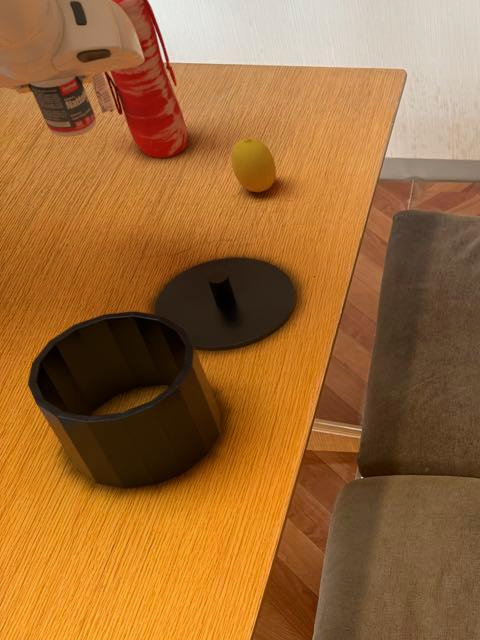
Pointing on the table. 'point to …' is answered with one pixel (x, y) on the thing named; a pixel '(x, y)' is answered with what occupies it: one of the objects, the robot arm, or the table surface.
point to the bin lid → (228, 302)
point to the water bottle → (146, 90)
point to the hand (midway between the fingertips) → (55, 80)
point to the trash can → (120, 377)
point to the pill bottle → (64, 106)
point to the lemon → (253, 165)
